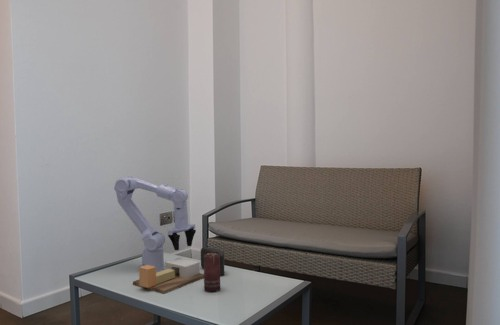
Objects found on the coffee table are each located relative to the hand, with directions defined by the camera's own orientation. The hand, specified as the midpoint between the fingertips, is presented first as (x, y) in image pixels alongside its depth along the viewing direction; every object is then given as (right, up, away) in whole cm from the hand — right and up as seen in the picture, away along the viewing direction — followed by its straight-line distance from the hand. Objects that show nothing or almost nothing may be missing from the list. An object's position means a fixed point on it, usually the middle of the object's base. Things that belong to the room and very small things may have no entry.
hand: (183, 248), depth 179 cm
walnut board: (-3, -11, -13) cm, 17 cm away
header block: (+1, -9, -8) cm, 12 cm away
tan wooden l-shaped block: (-7, -9, -19) cm, 22 cm away
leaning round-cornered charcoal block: (+13, -10, -2) cm, 17 cm away
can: (+15, -11, -24) cm, 31 cm away
